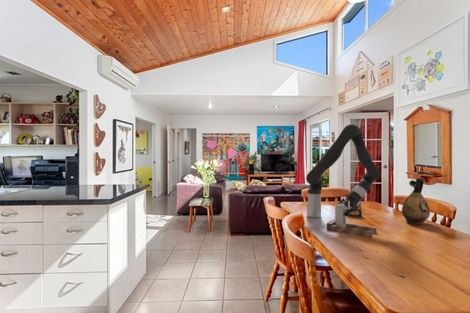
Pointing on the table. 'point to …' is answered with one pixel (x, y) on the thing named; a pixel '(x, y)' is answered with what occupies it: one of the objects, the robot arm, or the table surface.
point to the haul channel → (352, 229)
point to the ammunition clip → (359, 209)
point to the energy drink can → (340, 215)
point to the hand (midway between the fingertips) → (340, 213)
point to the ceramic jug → (416, 204)
